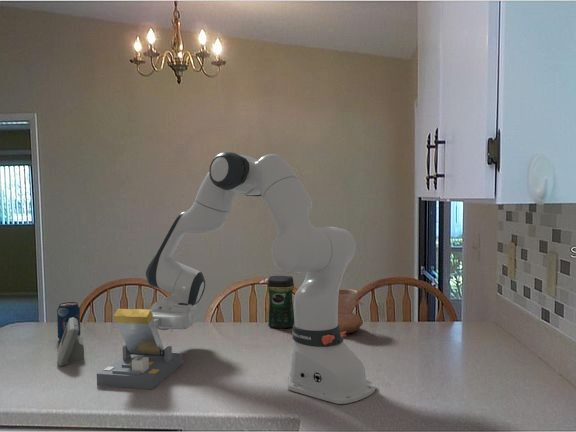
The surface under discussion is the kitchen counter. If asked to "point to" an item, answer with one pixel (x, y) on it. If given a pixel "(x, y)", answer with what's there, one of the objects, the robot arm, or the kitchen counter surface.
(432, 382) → the kitchen counter surface
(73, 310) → the soda can
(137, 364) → the slide switch
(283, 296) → the coffee jar
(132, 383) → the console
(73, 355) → the digital clock
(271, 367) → the kitchen counter surface
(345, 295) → the ceramic jug
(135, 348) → the lever
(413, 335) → the kitchen counter surface
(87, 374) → the kitchen counter surface
